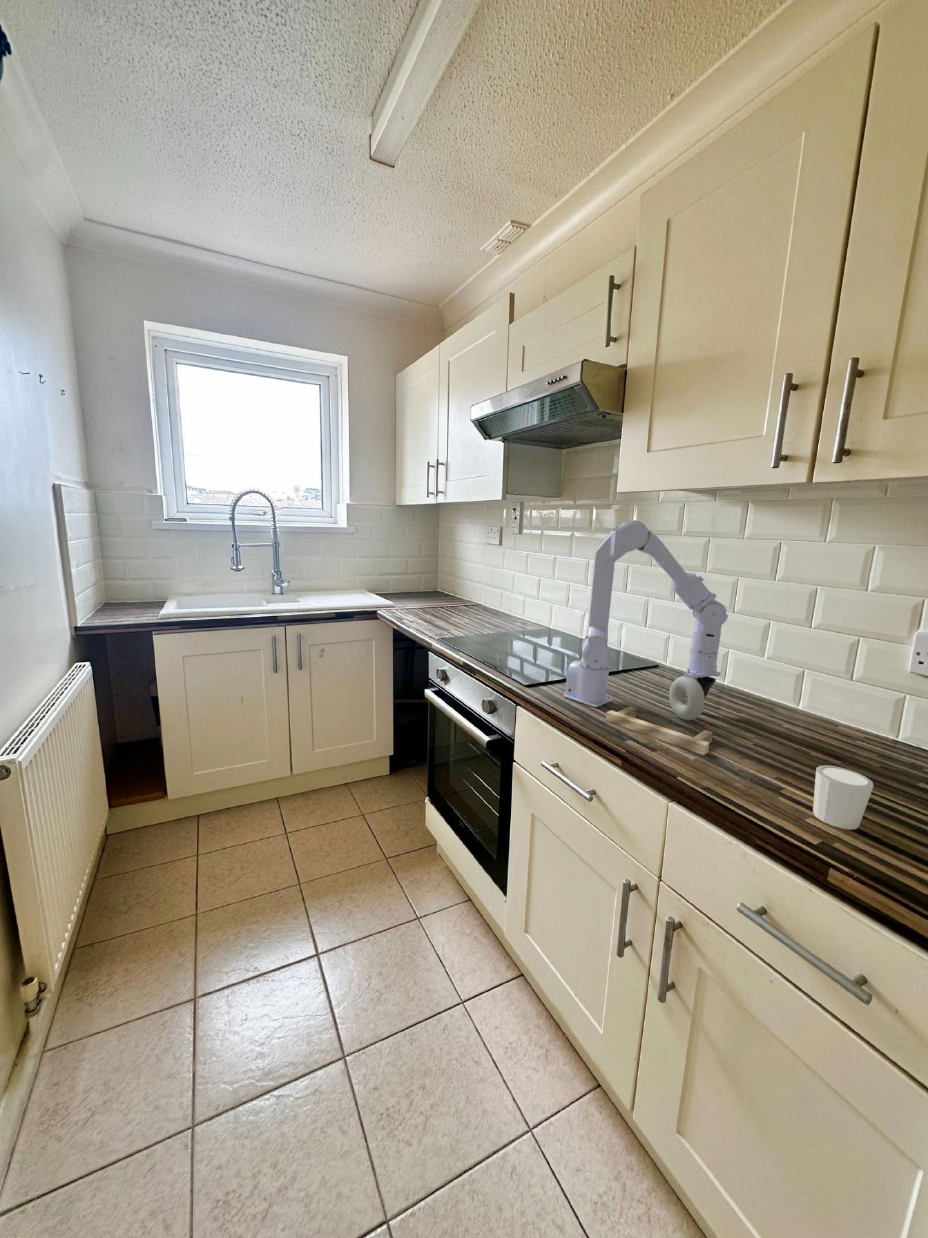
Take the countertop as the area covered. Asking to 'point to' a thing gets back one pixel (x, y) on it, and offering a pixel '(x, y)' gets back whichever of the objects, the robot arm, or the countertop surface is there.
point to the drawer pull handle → (660, 731)
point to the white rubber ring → (694, 698)
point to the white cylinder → (840, 796)
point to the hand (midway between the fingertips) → (696, 706)
